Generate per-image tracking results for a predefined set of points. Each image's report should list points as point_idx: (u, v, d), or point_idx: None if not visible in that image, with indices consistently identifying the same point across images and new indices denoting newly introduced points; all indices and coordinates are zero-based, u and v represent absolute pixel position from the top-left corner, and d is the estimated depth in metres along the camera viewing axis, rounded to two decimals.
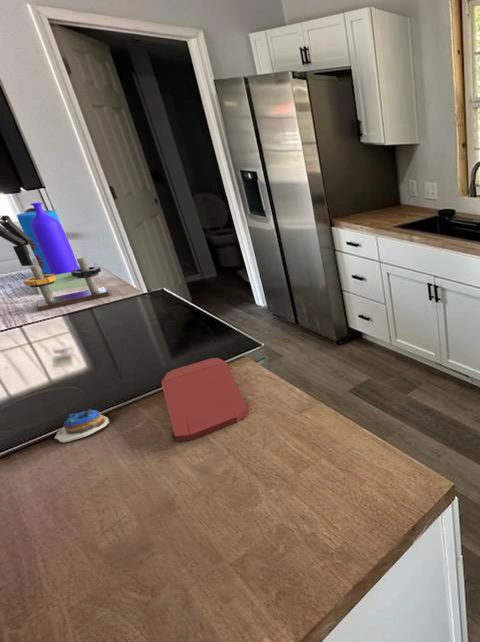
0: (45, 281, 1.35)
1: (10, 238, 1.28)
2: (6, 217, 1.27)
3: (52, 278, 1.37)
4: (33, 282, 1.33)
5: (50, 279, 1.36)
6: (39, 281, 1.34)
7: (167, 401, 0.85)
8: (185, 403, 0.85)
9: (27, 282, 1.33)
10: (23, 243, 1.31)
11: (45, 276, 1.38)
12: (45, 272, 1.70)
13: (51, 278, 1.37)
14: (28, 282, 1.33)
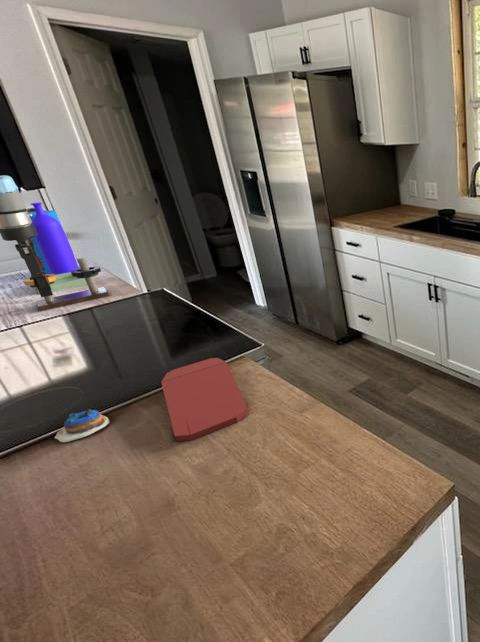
0: None
1: None
2: (29, 241, 1.37)
3: (52, 278, 1.37)
4: (33, 282, 1.33)
5: (50, 279, 1.36)
6: None
7: (167, 401, 0.85)
8: (185, 403, 0.85)
9: (27, 282, 1.33)
10: (41, 268, 1.39)
11: (45, 276, 1.38)
12: (45, 272, 1.70)
13: (51, 278, 1.37)
14: (28, 282, 1.33)
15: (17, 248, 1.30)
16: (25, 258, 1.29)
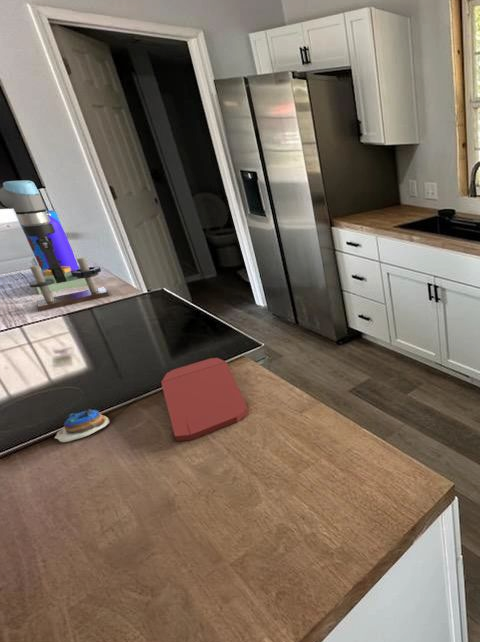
0: None
1: None
2: (47, 237, 1.57)
3: (67, 269, 1.57)
4: (51, 272, 1.54)
5: (65, 270, 1.57)
6: None
7: (167, 401, 0.85)
8: (185, 403, 0.85)
9: (46, 272, 1.54)
10: (57, 261, 1.60)
11: (61, 267, 1.59)
12: None
13: (66, 269, 1.57)
14: (47, 272, 1.54)
15: (38, 243, 1.50)
16: (45, 251, 1.49)
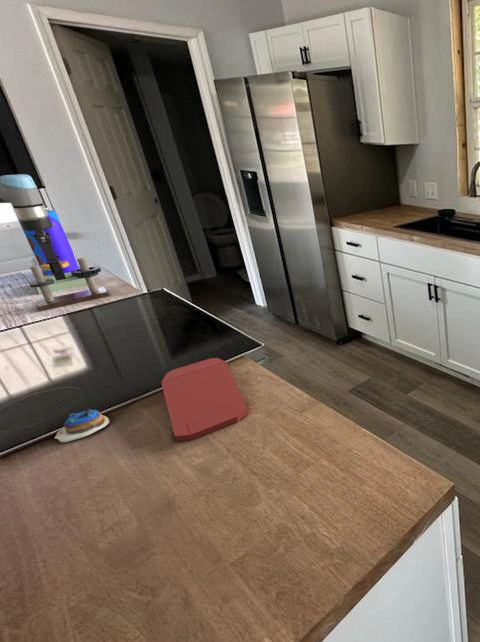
0: None
1: None
2: None
3: (65, 264, 1.57)
4: (49, 267, 1.53)
5: (64, 265, 1.56)
6: None
7: (167, 401, 0.85)
8: (185, 403, 0.85)
9: (44, 267, 1.53)
10: (55, 256, 1.59)
11: (59, 262, 1.58)
12: (45, 272, 1.70)
13: (64, 264, 1.56)
14: (45, 267, 1.53)
15: (35, 237, 1.50)
16: (42, 246, 1.48)
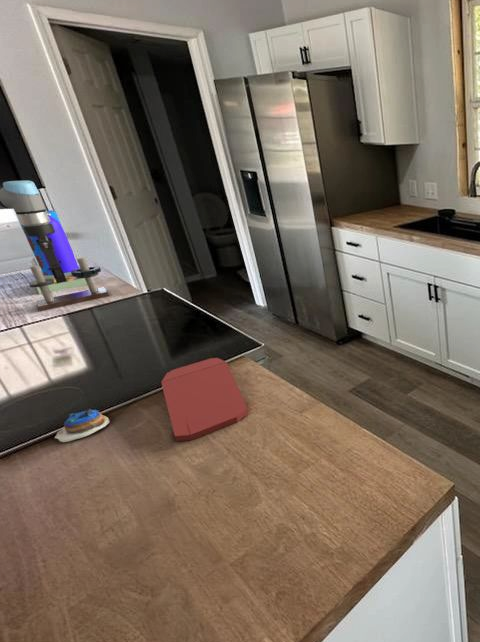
0: None
1: None
2: (47, 237, 1.57)
3: (72, 280, 1.59)
4: (56, 283, 1.55)
5: None
6: None
7: (167, 401, 0.85)
8: (185, 403, 0.85)
9: None
10: (58, 261, 1.60)
11: (66, 278, 1.61)
12: (45, 272, 1.70)
13: (71, 280, 1.59)
14: None
15: (38, 243, 1.50)
16: (45, 251, 1.49)
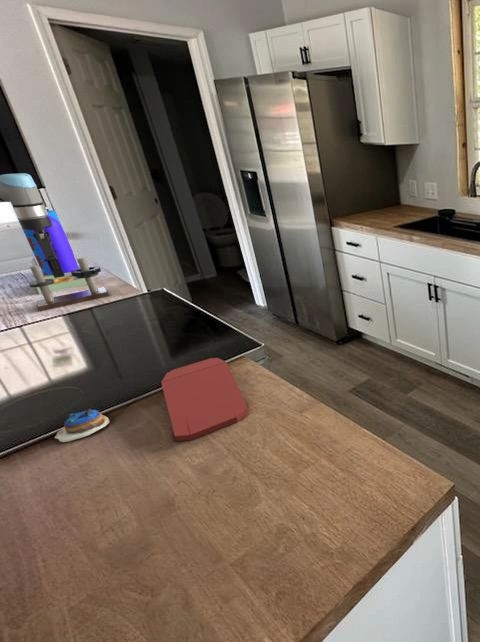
0: None
1: None
2: (44, 229, 1.56)
3: (72, 280, 1.59)
4: (56, 283, 1.55)
5: None
6: None
7: (167, 401, 0.85)
8: (185, 403, 0.85)
9: None
10: (53, 251, 1.60)
11: (66, 278, 1.61)
12: (45, 272, 1.70)
13: (71, 280, 1.59)
14: None
15: (35, 236, 1.50)
16: (41, 243, 1.47)
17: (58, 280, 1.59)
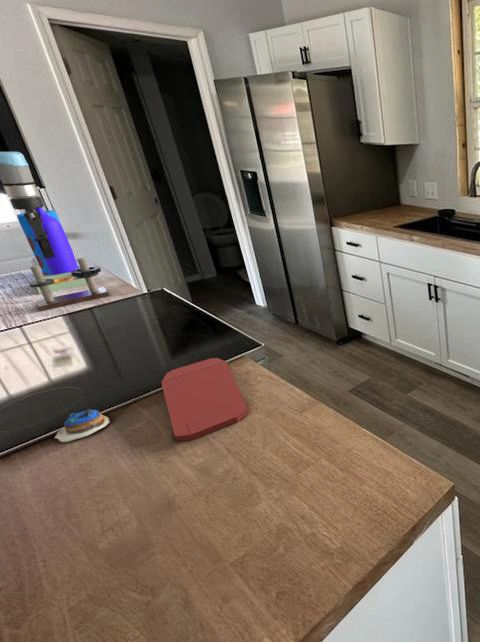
0: None
1: None
2: (35, 209, 1.53)
3: (72, 280, 1.59)
4: (56, 283, 1.55)
5: None
6: None
7: (167, 401, 0.85)
8: (185, 403, 0.85)
9: None
10: (44, 231, 1.57)
11: (66, 278, 1.61)
12: (45, 272, 1.70)
13: (71, 280, 1.59)
14: None
15: (25, 216, 1.47)
16: (31, 222, 1.45)
17: (58, 280, 1.59)
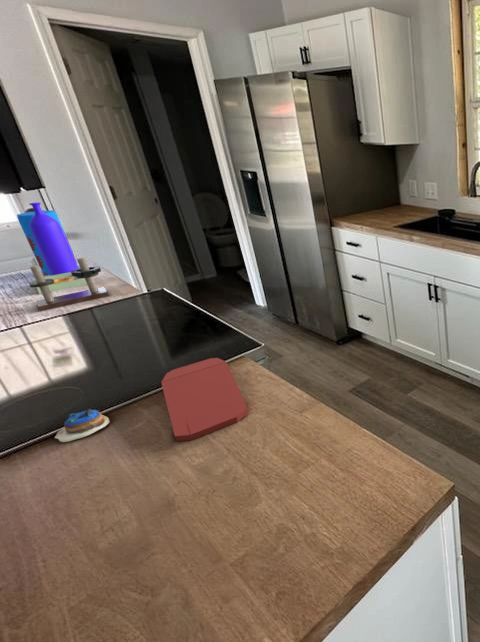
0: None
1: None
2: None
3: (72, 280, 1.59)
4: (56, 283, 1.55)
5: None
6: None
7: (167, 401, 0.85)
8: (185, 403, 0.85)
9: None
10: None
11: (66, 278, 1.61)
12: (45, 272, 1.70)
13: (71, 280, 1.59)
14: None
15: None
16: None
17: (58, 280, 1.59)
